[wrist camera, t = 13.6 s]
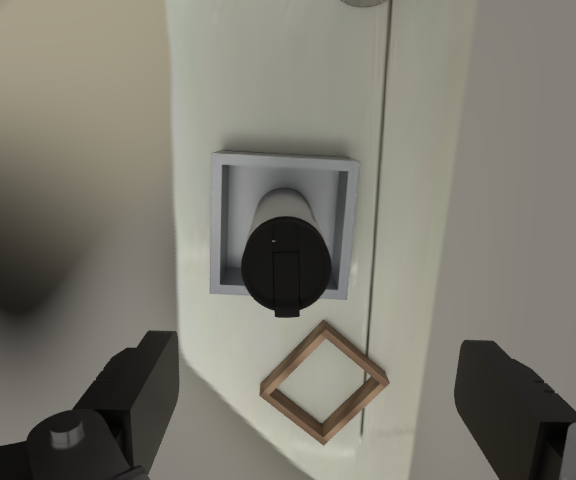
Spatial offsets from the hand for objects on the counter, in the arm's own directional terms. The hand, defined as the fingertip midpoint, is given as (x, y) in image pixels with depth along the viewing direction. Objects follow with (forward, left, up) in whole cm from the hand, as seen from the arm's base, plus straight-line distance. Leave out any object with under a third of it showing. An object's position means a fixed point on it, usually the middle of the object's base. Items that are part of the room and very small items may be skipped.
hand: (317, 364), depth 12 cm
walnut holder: (+15, +19, -37) cm, 44 cm away
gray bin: (+3, +1, -37) cm, 37 cm away
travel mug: (+2, +1, -36) cm, 36 cm away
